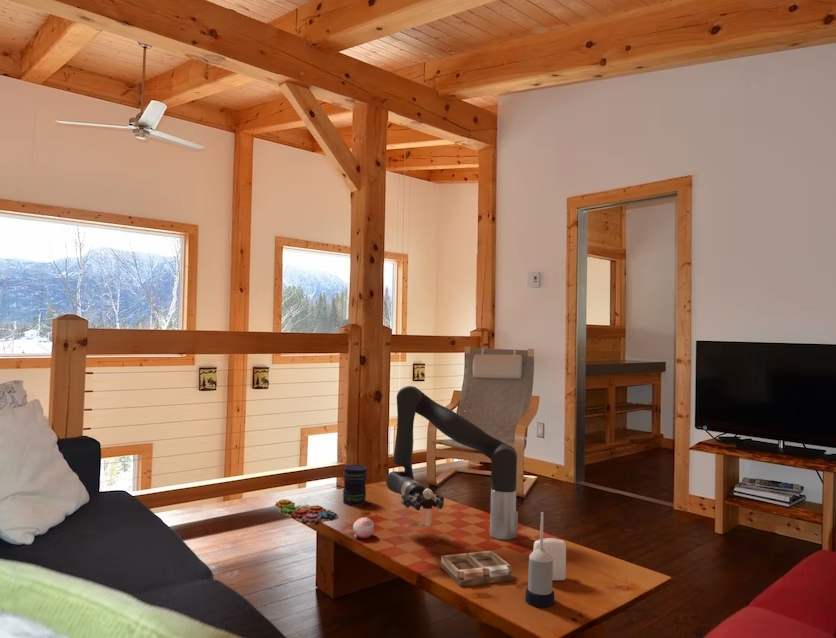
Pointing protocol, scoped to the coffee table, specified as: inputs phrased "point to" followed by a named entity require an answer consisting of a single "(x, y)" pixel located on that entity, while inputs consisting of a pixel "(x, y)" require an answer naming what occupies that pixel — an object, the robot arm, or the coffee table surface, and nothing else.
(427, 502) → the grandmother figurine
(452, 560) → the wooden divided tray
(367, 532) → the onion
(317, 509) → the gear puzzle
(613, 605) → the coffee table surface
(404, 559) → the coffee table surface
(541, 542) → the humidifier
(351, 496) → the storage jar
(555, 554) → the photo printer
